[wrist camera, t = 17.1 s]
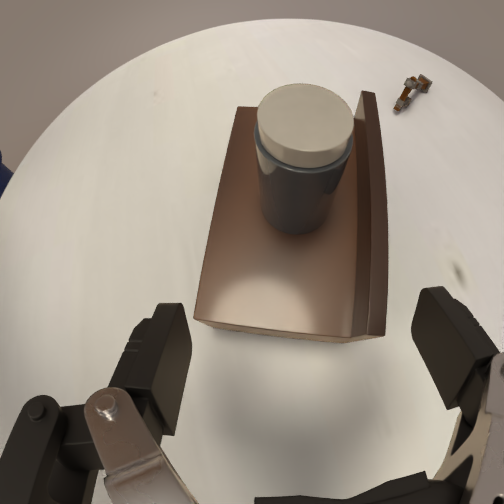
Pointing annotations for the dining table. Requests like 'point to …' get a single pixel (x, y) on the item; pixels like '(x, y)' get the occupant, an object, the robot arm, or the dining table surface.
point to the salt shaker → (301, 155)
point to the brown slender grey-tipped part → (411, 84)
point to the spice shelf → (299, 249)
